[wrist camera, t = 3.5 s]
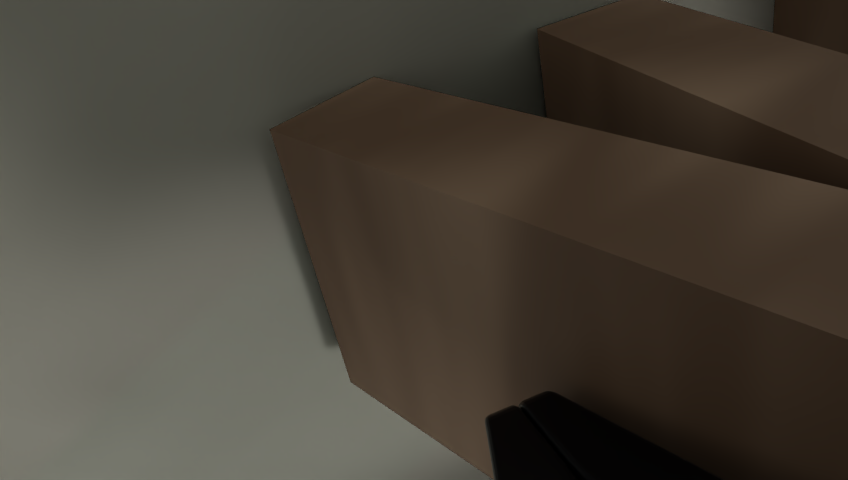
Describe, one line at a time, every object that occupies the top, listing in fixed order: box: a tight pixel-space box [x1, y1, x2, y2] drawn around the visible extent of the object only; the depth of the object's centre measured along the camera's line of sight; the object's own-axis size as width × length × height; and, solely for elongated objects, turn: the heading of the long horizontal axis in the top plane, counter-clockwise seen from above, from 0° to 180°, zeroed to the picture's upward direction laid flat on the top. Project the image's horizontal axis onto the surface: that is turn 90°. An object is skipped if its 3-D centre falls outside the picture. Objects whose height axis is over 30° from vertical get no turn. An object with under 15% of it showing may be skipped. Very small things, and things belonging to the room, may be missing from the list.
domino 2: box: [270, 77, 848, 480], centre depth 10 cm, size 2×5×8 cm, turn 12°
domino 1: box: [537, 0, 848, 190], centre depth 11 cm, size 2×5×8 cm, turn 12°
